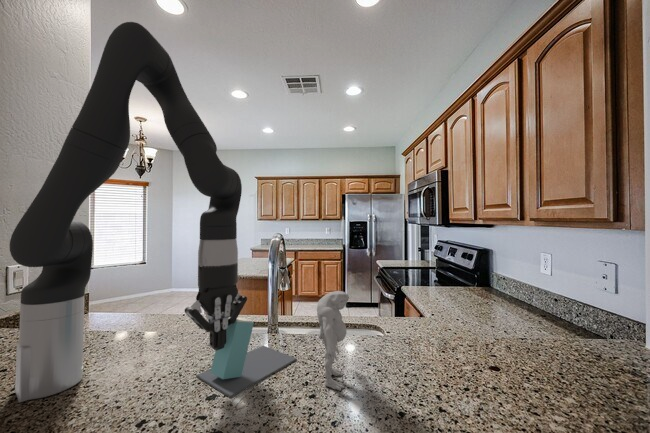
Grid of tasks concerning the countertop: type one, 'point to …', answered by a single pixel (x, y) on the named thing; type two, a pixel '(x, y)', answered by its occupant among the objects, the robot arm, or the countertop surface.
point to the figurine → (332, 331)
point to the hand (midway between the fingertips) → (217, 348)
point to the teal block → (233, 350)
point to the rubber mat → (249, 371)
